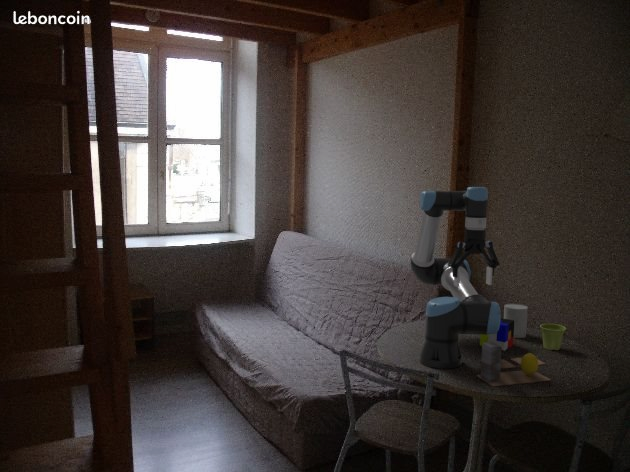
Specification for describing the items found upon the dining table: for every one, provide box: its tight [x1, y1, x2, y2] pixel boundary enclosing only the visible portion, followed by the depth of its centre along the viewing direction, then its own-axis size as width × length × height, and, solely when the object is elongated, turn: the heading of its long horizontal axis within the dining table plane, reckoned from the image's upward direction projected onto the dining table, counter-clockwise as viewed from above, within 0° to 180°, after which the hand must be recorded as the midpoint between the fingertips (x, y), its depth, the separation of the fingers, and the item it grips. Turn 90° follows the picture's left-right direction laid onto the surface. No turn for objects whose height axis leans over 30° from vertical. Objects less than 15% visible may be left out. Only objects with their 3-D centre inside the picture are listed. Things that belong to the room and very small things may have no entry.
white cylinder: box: [503, 303, 529, 339], centre depth 247 cm, size 10×10×12 cm
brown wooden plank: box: [480, 357, 547, 370], centre depth 211 cm, size 22×8×1 cm, turn 106°
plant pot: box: [539, 323, 567, 351], centre depth 229 cm, size 9×9×9 cm
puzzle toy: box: [479, 317, 515, 351], centre depth 232 cm, size 10×10×10 cm
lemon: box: [520, 352, 539, 376], centre depth 197 cm, size 6×6×8 cm
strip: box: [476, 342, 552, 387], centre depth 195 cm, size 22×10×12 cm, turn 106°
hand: (472, 285), depth 217 cm, fingers open, 13 cm apart
